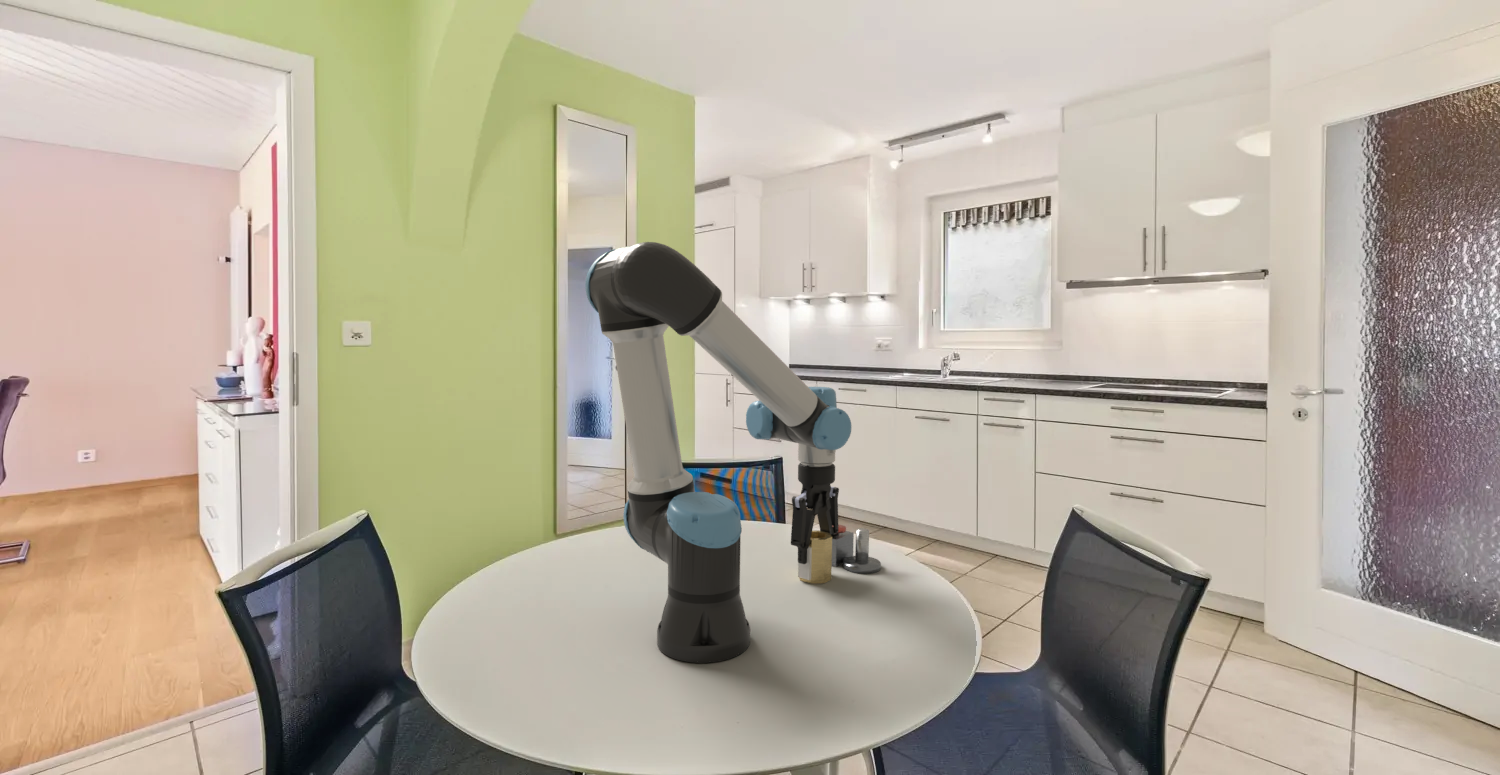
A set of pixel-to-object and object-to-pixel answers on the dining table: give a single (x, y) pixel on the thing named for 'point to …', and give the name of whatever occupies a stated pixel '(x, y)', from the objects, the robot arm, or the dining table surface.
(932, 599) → the dining table surface
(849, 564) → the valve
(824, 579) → the tan octagonal tube
